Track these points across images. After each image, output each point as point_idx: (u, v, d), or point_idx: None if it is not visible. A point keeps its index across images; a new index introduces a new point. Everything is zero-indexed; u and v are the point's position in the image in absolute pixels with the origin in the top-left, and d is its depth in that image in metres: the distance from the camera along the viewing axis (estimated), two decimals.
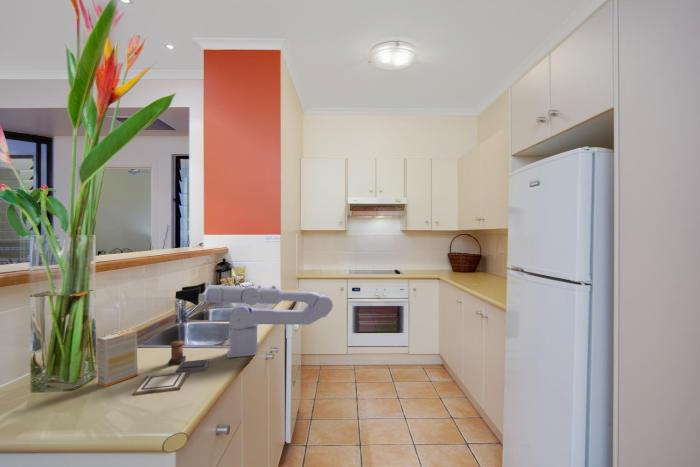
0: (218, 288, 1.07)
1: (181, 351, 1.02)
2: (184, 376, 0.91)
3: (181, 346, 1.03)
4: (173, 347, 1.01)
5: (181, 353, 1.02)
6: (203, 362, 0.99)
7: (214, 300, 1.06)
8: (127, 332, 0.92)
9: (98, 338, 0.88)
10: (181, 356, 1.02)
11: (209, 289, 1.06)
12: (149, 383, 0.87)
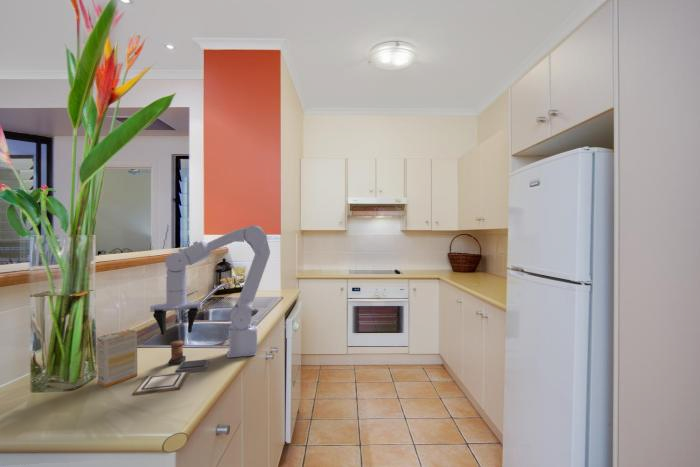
0: (181, 295, 1.01)
1: (181, 351, 1.02)
2: (184, 376, 0.91)
3: (181, 346, 1.03)
4: (173, 347, 1.01)
5: (181, 353, 1.02)
6: (203, 362, 0.99)
7: None
8: (127, 332, 0.92)
9: (98, 338, 0.88)
10: (181, 356, 1.02)
11: (182, 303, 1.01)
12: (149, 383, 0.87)
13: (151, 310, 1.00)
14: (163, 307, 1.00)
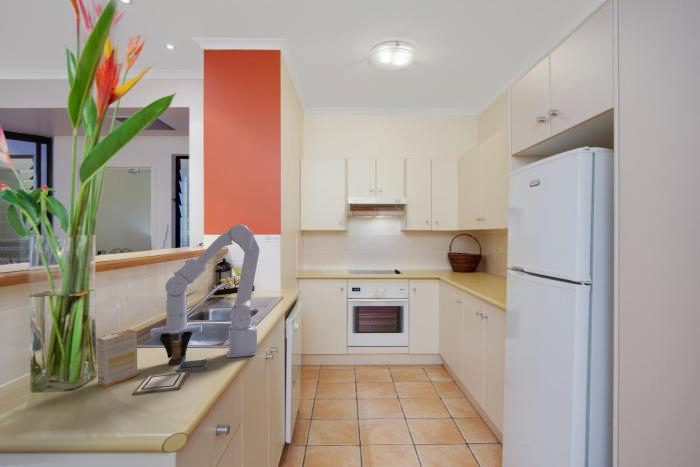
0: (181, 319, 1.01)
1: (181, 351, 1.02)
2: (184, 376, 0.91)
3: (181, 346, 1.03)
4: (173, 347, 1.01)
5: (181, 353, 1.02)
6: (203, 362, 0.99)
7: None
8: (127, 332, 0.92)
9: (98, 338, 0.88)
10: (181, 356, 1.02)
11: (183, 327, 1.01)
12: (149, 383, 0.87)
13: (151, 334, 1.00)
14: (163, 331, 1.00)
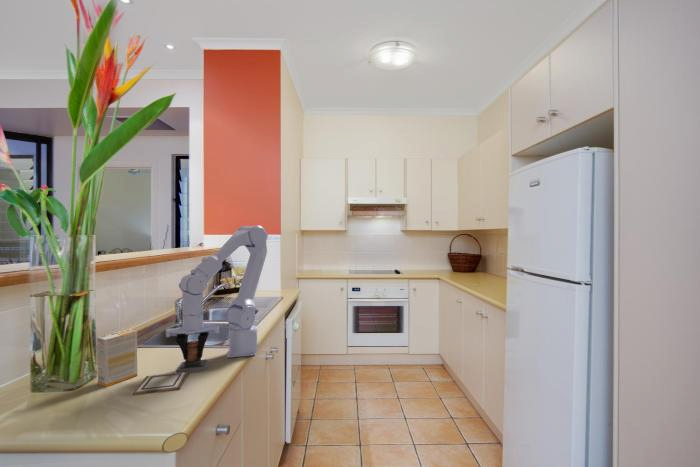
0: (198, 319, 0.97)
1: (197, 352, 0.98)
2: (184, 376, 0.91)
3: (198, 346, 0.98)
4: (190, 347, 0.97)
5: (197, 354, 0.98)
6: (203, 362, 0.99)
7: None
8: (127, 332, 0.92)
9: (98, 338, 0.88)
10: (197, 357, 0.98)
11: (199, 327, 0.97)
12: (149, 383, 0.87)
13: (167, 335, 0.96)
14: (179, 332, 0.96)
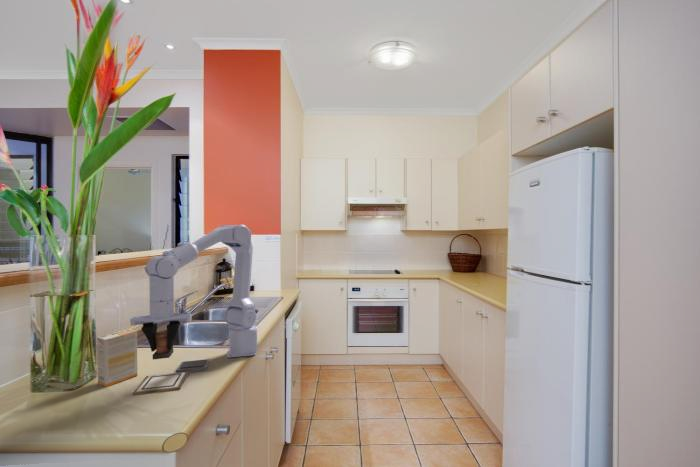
0: (167, 306, 0.86)
1: (167, 343, 0.88)
2: (184, 376, 0.91)
3: None
4: (158, 338, 0.87)
5: (167, 345, 0.88)
6: (203, 362, 0.99)
7: None
8: (127, 332, 0.92)
9: (98, 338, 0.88)
10: None
11: (168, 315, 0.87)
12: (149, 383, 0.87)
13: (131, 323, 0.85)
14: (145, 320, 0.85)
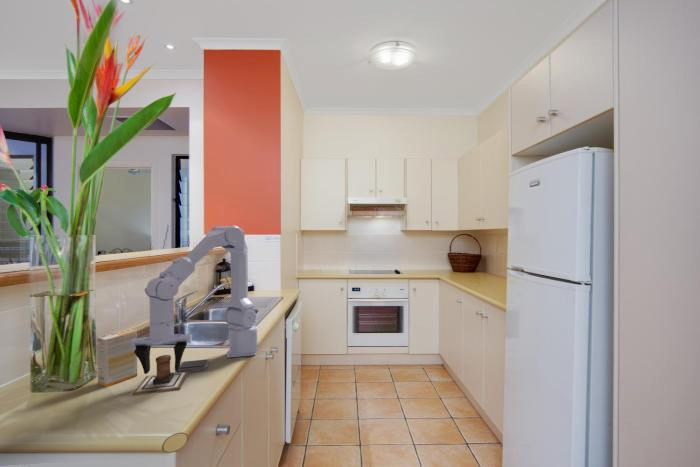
0: (167, 327, 0.86)
1: (168, 368, 0.88)
2: (184, 376, 0.91)
3: (169, 362, 0.89)
4: (159, 363, 0.87)
5: (168, 370, 0.88)
6: (203, 362, 0.99)
7: None
8: (127, 332, 0.92)
9: (98, 338, 0.88)
10: (168, 373, 0.88)
11: (169, 337, 0.87)
12: (149, 383, 0.87)
13: (132, 345, 0.85)
14: (146, 342, 0.85)
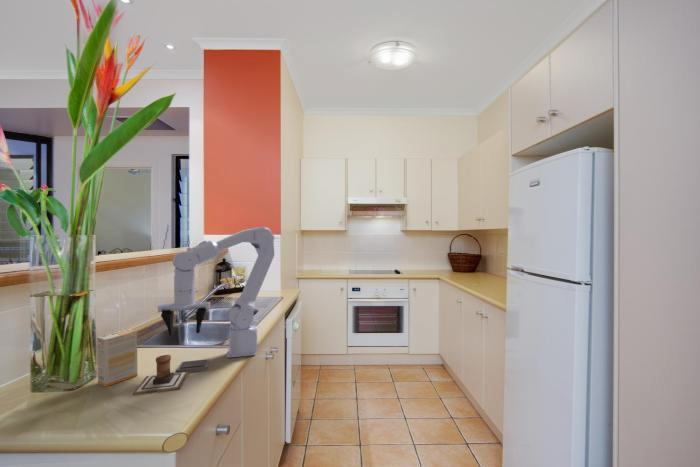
0: (189, 295, 0.99)
1: (168, 368, 0.88)
2: (184, 376, 0.91)
3: (169, 362, 0.89)
4: (159, 363, 0.87)
5: (168, 370, 0.88)
6: (203, 362, 0.99)
7: None
8: (127, 332, 0.92)
9: (98, 338, 0.88)
10: (168, 373, 0.88)
11: (191, 303, 0.99)
12: (149, 383, 0.87)
13: (159, 310, 0.98)
14: (171, 307, 0.98)
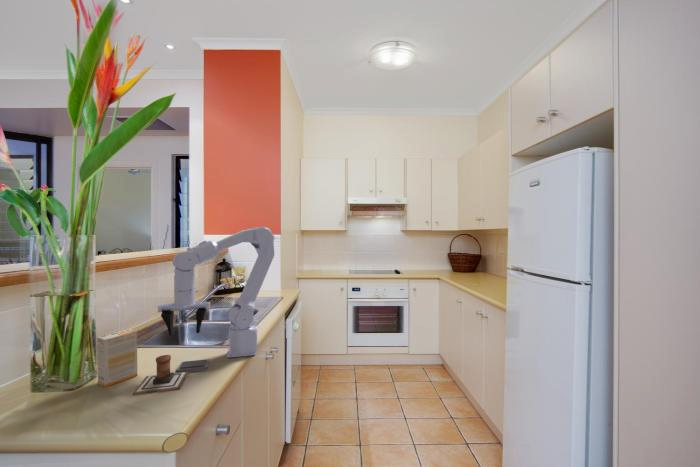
0: (189, 295, 0.99)
1: (168, 368, 0.88)
2: (184, 376, 0.91)
3: (169, 362, 0.89)
4: (159, 363, 0.87)
5: (168, 370, 0.88)
6: (203, 362, 0.99)
7: None
8: (127, 332, 0.92)
9: (98, 338, 0.88)
10: (168, 373, 0.88)
11: (191, 303, 0.99)
12: (149, 383, 0.87)
13: (159, 310, 0.98)
14: (171, 307, 0.98)
